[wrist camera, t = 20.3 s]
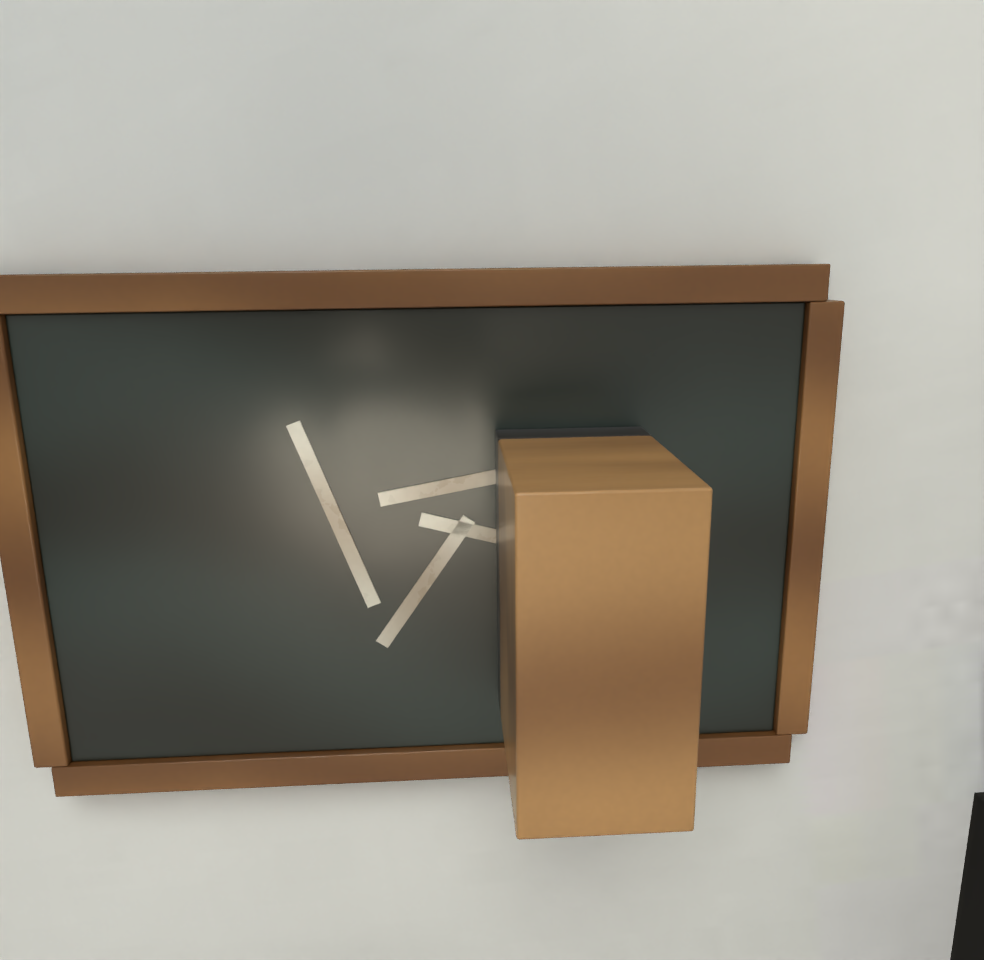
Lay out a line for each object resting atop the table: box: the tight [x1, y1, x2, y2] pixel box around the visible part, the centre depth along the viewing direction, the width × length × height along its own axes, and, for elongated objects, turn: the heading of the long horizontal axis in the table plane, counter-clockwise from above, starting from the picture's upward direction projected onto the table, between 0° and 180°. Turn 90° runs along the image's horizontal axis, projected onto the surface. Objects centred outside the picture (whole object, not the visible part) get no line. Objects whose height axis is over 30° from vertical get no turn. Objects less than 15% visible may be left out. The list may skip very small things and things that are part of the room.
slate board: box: [0, 264, 845, 797], centre depth 30 cm, size 18×28×2 cm, turn 91°
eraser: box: [495, 426, 713, 839], centre depth 26 cm, size 10×5×8 cm, turn 1°
